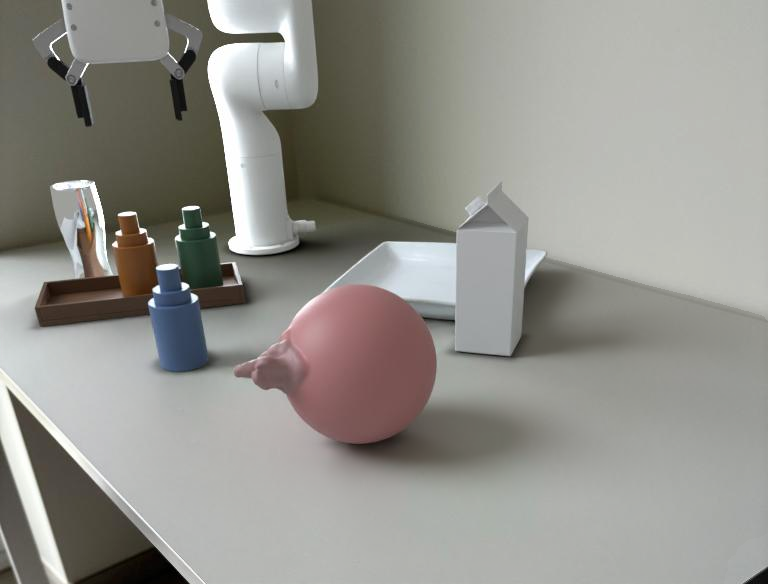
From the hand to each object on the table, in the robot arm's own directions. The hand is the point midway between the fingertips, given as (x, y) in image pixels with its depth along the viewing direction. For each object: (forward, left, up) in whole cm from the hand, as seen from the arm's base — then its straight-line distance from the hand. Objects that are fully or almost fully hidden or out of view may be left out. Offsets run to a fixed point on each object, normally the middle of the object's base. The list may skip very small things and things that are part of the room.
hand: (134, 122), depth 88 cm
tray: (+4, -23, -27) cm, 36 cm away
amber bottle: (+4, -23, -26) cm, 35 cm away
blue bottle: (-1, +3, -27) cm, 27 cm away
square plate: (-39, -11, -27) cm, 49 cm away
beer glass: (+12, -36, -27) cm, 47 cm away
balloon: (-16, +29, -27) cm, 43 cm away
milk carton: (-39, +10, -27) cm, 48 cm away
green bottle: (-5, -23, -26) cm, 35 cm away
